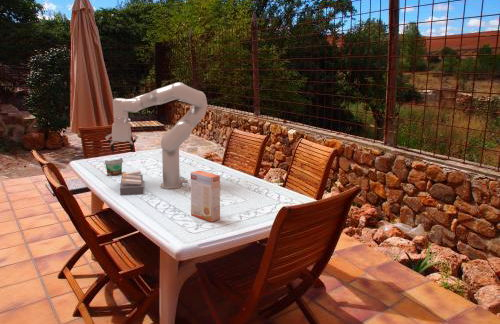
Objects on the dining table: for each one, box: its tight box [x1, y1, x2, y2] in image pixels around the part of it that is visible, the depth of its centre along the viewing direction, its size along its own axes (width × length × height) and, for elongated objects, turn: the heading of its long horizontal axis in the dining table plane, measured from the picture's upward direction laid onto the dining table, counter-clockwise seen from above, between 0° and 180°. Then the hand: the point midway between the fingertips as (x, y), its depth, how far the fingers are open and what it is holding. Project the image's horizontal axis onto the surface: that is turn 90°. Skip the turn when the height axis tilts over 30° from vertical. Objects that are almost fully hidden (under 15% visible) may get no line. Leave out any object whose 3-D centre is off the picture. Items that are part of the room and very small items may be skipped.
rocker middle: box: [122, 174, 141, 180], centre depth 227 cm, size 10×4×2 cm, turn 105°
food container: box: [104, 157, 124, 177], centre depth 254 cm, size 12×6×10 cm, turn 143°
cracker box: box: [190, 170, 221, 223], centre depth 181 cm, size 14×6×21 cm, turn 48°
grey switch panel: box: [119, 173, 145, 196], centre depth 229 cm, size 12×32×4 cm, turn 16°
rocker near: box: [122, 179, 141, 184], centre depth 218 cm, size 10×4×2 cm, turn 105°
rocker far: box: [122, 169, 142, 175], centre depth 235 cm, size 10×4×2 cm, turn 106°
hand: (122, 151), depth 223 cm, fingers open, 9 cm apart
